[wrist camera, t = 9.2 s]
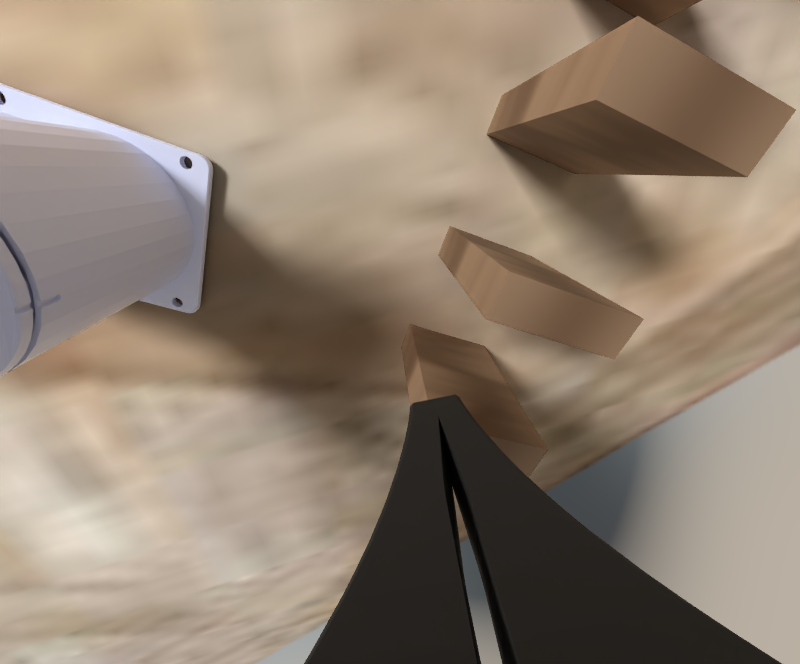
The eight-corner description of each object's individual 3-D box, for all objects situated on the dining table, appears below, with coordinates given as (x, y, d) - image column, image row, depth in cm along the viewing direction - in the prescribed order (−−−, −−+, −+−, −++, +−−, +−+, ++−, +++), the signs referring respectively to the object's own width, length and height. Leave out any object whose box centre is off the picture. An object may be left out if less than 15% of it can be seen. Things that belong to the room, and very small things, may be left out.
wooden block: (486, 134, 15) (595, 99, 8) (502, 95, 15) (638, 15, 7) (574, 173, 16) (747, 176, 9) (592, 138, 16) (796, 110, 8)
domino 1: (401, 346, 20) (417, 453, 13) (410, 324, 19) (432, 423, 12) (473, 366, 21) (528, 476, 14) (484, 346, 21) (548, 449, 13)
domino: (438, 254, 18) (485, 319, 10) (450, 226, 17) (509, 271, 9) (517, 282, 19) (614, 359, 11) (531, 256, 18) (643, 319, 11)
